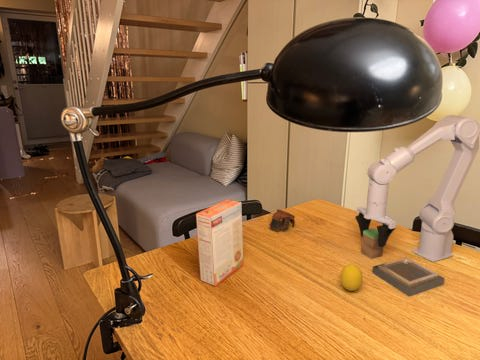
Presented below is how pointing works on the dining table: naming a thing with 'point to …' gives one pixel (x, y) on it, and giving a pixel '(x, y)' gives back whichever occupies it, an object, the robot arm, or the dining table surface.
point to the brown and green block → (371, 244)
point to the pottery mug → (283, 224)
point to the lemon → (351, 277)
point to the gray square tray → (408, 276)
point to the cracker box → (220, 241)
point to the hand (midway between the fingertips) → (372, 241)
